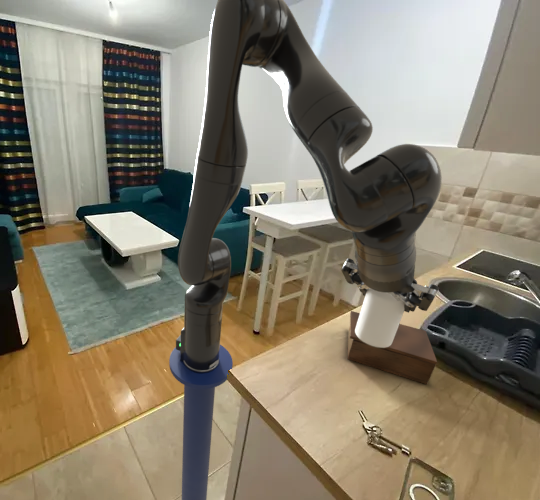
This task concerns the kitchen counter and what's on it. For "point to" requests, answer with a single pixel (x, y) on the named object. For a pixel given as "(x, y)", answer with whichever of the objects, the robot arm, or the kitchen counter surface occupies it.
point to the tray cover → (404, 341)
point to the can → (379, 319)
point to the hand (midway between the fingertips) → (386, 299)
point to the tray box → (390, 361)
